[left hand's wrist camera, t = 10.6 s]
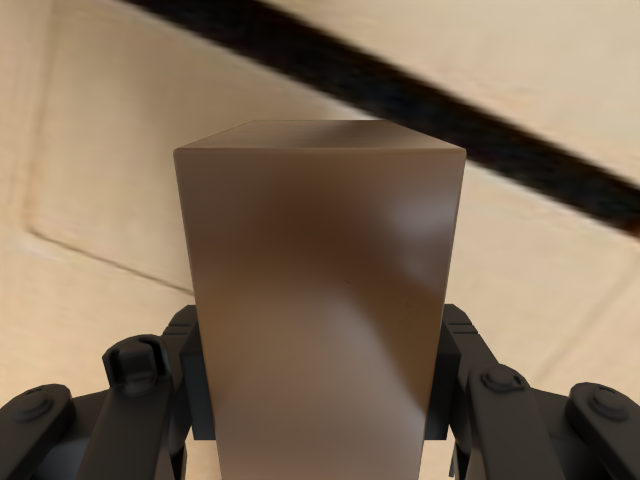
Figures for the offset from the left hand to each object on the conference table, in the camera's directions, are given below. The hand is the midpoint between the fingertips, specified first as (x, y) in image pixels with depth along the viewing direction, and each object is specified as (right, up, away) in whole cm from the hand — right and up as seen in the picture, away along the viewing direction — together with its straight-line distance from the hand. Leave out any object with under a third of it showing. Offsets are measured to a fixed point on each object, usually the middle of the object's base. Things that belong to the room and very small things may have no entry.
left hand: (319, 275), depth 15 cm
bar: (0, -29, +12) cm, 31 cm away
